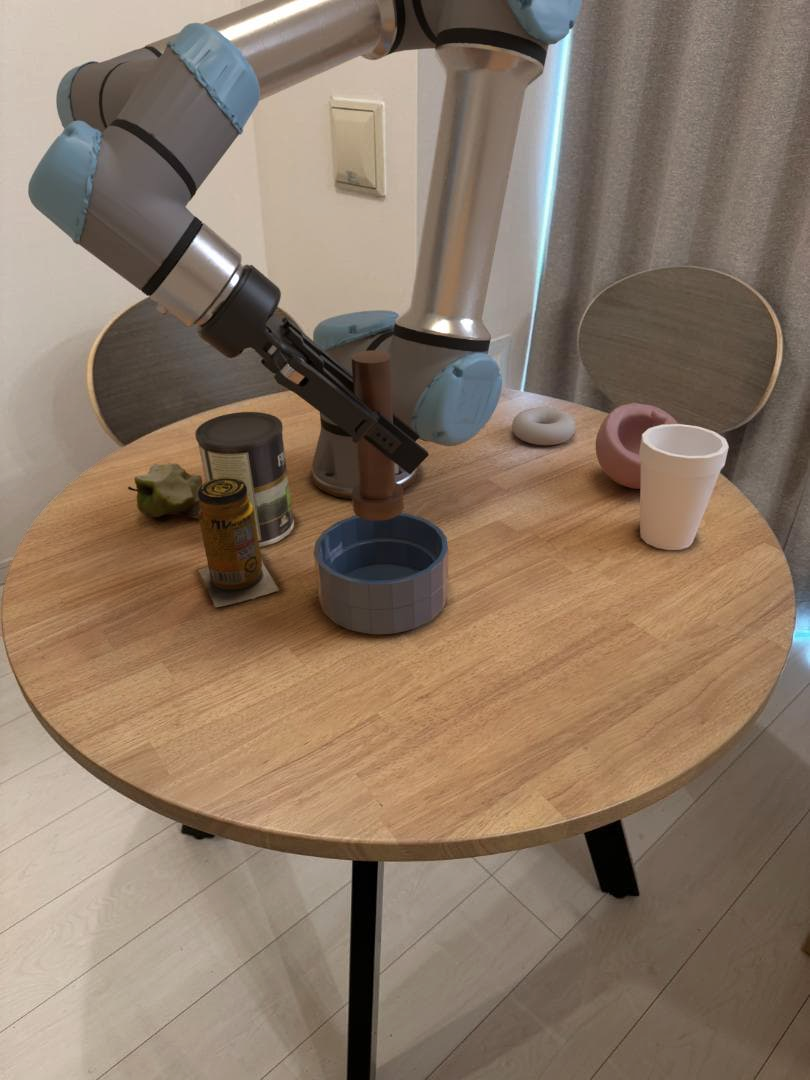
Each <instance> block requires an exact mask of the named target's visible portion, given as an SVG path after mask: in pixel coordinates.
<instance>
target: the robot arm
mask: <svg viewBox="0 0 810 1080" xmlns="http://www.w3.org/2000/svg"><path fill="white" fill-rule="evenodd" d="M582 2H583V0H261V1H259V2H256V3H252V4H250V5H248V6H245V7H243V8H240V9H237V10H235V11H233V12H230V13H227V14H224V15H222V16H218V17H217V18H213V19H211V20H209V21H206V22H204V23H201V22H191V23H188V24H186V25H184V26H183V28H182V29H181V30H180V31H179V32H177V33H173V34H172V35H170V36H166V37H164V38H161V39H159V40H157V41H154V42H151V43H149V44H146V45H145V46H143V47H140V48H137V49H133V50H131V51H128V52H126V53H123V54H120V55H117V56H115V57H112V58H110V59H106V60H103V61H100V62H99V61H95V60H94V61H93V60H92V61H88V62H84V63H82V64H81V65H78V66H75V67H73V68H71V69H69V70H68V71H67V72H66V73H65V74H64V75H63V77H62V78H61V79H60V82H59V83H58V86H57V90H56V97H55V98H56V99H55V103H56V104H55V105H56V111H57V115H58V118H59V120H60V124H61V126H62V128H63V130H62V132H61V133H60V134H59V135H58V136H57V137H56V138H55V140H53V142H52V143H51V145H50V146H49V147H48V149H47V151H46V152H45V153H44V154H43V156H42V157H41V158H40V161H39V162H38V164H37V166H36V167H35V169H34V171H33V173H32V175H31V177H30V178H29V182H28V187H27V188H28V189H27V194H28V198H29V200H30V203H31V204H32V206H33V207H34V208H36V210H37V211H38V212H40V213H41V214H42V215H43V216H45V217H46V218H47V219H48V220H49V221H50V222H52V223H53V224H54V225H55V226H56V227H57V228H59V229H60V230H61V231H62V232H64V233H65V234H66V235H67V236H68V237H69V238H70V239H71V240H72V242H73V243H75V244H76V245H77V246H80V247H81V248H83V249H84V250H85V251H86V252H88V253H90V254H91V255H92V256H94V257H95V258H96V259H98V260H99V261H100V262H102V263H103V264H104V265H106V266H107V267H108V268H110V269H111V270H112V271H114V272H115V273H116V274H118V276H120V277H122V278H123V279H124V280H126V281H127V282H128V283H129V284H131V285H132V286H134V287H135V288H136V289H138V290H139V291H141V292H142V293H143V294H144V295H145V296H147V297H149V298H150V299H151V300H152V301H154V302H155V303H157V305H156V311H157V312H158V314H160V315H162V316H163V315H167V314H169V313H170V314H171V315H172V316H173V317H174V318H176V319H177V320H178V321H179V322H181V323H182V324H183V325H184V326H186V327H193V326H195V325H197V328H196V332H197V333H198V337H200V338H201V339H202V340H203V341H204V342H206V343H207V344H209V346H211V347H212V348H214V349H215V350H216V351H218V352H219V353H220V354H222V355H223V356H224V357H226V358H227V359H228V358H229V359H233V358H236V357H238V356H240V355H241V354H242V353H243V352H244V350H246V349H249V348H251V349H252V350H254V351H255V353H256V354H258V356H260V357H261V358H262V359H261V360H260V363H261V364H262V365H263V366H264V367H265V368H266V369H267V370H268V371H270V372H271V374H273V378H274V380H275V381H276V384H278V385H280V386H282V387H284V388H286V389H287V390H289V391H290V392H292V393H294V394H295V395H297V396H298V397H299V398H301V399H302V400H304V401H305V402H306V403H307V404H308V405H310V406H311V407H313V409H315V410H317V411H318V412H319V421H320V431H319V435H318V439H317V444H316V447H315V450H314V451H315V452H314V455H313V459H312V465H311V471H312V480H313V483H314V485H315V486H316V487H317V488H318V489H319V490H321V491H322V492H323V493H326V494H327V495H331V496H333V497H337V498H342V499H347V500H353V499H352V491H353V489H354V487H355V486H357V485H358V484H359V470H358V454H357V442H358V441H360V440H361V439H362V438H364V439H366V440H367V441H368V442H369V443H371V444H372V445H373V446H374V447H376V448H377V449H378V450H379V451H381V452H382V453H383V454H385V455H386V456H387V457H388V458H390V459H391V460H392V461H393V462H394V469H395V482H396V483H398V484H399V485H400V486H401V487H402V489H403V491H404V490H407V488H409V487H411V485H412V484H414V483H415V481H416V480H417V478H418V473H419V471H418V467H419V466H420V465H421V464H422V463H423V462H424V461H425V460H426V459H427V458H428V457H430V454H429V451H427V450H426V449H425V448H424V447H423V446H421V445H420V444H419V443H418V442H417V441H418V440H420V441H423V442H426V443H433V444H436V445H440V446H442V447H443V446H444V447H455V446H460V445H462V444H465V443H466V442H468V441H470V440H472V439H473V438H474V437H475V436H477V435H478V434H479V432H480V431H481V430H482V429H483V428H485V426H486V425H487V424H488V423H489V421H490V419H491V418H492V416H493V415H494V413H495V410H496V408H497V406H498V404H499V401H500V398H501V394H502V387H503V376H502V374H501V373H500V371H501V368H500V366H499V364H498V363H497V361H496V360H495V359H494V358H493V357H492V356H491V355H489V350H490V345H491V340H492V338H491V337H492V335H491V333H490V332H489V330H488V328H487V327H486V325H485V324H484V321H483V313H484V308H485V303H486V299H487V298H486V297H487V293H488V287H489V282H490V276H491V271H492V266H493V262H494V257H495V250H496V245H497V239H498V234H499V229H500V224H501V219H502V213H503V209H504V204H505V198H506V193H507V188H508V181H509V176H510V171H511V167H512V162H513V161H512V160H513V155H514V150H515V145H516V141H517V140H516V139H517V135H518V130H519V124H520V119H521V114H522V109H523V104H524V97H525V93H526V89H527V88H528V87H529V86H530V85H531V84H532V83H533V82H535V81H536V80H538V78H539V77H541V76H542V75H543V74H544V70H545V65H546V60H547V56H548V50H549V46H551V45H556V44H557V43H558V42H560V41H562V40H563V39H565V38H566V36H568V35H569V33H570V30H572V29H573V28H574V27H575V25H576V22H577V20H578V17H579V15H580V11H581V7H582V4H583V3H582ZM426 49H427V50H428V49H429V50H430V49H434V57H435V58H436V60H437V62H438V63H439V65H440V66H441V68H442V70H443V72H444V75H445V79H444V85H443V86H444V87H443V93H442V98H441V104H440V111H439V116H438V117H439V118H438V125H437V130H436V138H435V143H434V149H433V157H432V162H431V168H430V175H429V182H428V189H427V195H426V202H425V208H424V214H423V221H422V227H421V233H420V241H419V248H418V254H417V259H416V266H415V272H414V278H413V285H412V292H411V299H410V305H409V307H408V308H407V310H405V311H404V312H402V313H401V314H399V313H398V312H396V311H392V310H386V309H385V310H382V309H381V310H378V309H377V310H376V309H375V310H362V311H356V312H355V311H354V312H349V313H343V314H338V315H334V316H332V317H328V318H326V319H324V320H321V321H320V322H319V323H317V325H316V326H315V327H314V329H313V332H312V338H310V336H308V335H307V334H306V333H304V331H302V329H300V327H299V326H298V325H296V323H294V322H293V320H292V319H291V318H290V317H288V316H283V317H282V319H280V318H279V317H277V316H276V315H275V312H276V310H277V308H278V306H279V304H280V301H281V298H282V291H281V289H280V287H279V286H278V285H276V284H275V283H274V282H273V281H272V280H270V279H269V278H268V277H267V276H266V275H265V274H264V273H262V271H260V270H259V269H257V268H256V267H255V266H254V265H253V264H244V265H243V264H242V260H243V258H242V254H241V253H240V251H238V250H237V249H235V248H234V247H233V246H232V245H231V244H230V243H229V242H227V241H226V240H225V239H223V238H222V237H221V236H220V235H219V234H218V233H216V232H215V230H213V229H212V228H211V227H209V226H208V225H207V224H206V223H205V222H203V221H202V220H201V219H199V218H198V216H196V215H194V214H193V213H192V212H191V211H190V210H189V208H187V205H188V204H189V202H191V200H192V199H193V198H194V197H195V195H196V194H197V192H198V190H199V188H201V186H202V184H203V183H204V182H205V180H207V178H208V177H209V175H210V174H211V173H212V171H213V170H214V168H215V167H216V166H217V165H218V163H219V162H220V161H221V159H222V158H223V157H224V155H225V154H226V153H227V151H228V150H229V149H230V147H231V146H232V145H233V143H234V142H235V140H236V139H237V138H238V137H239V136H240V135H242V134H243V132H244V128H245V126H246V124H247V122H248V121H249V119H250V117H251V116H252V115H253V113H254V111H255V109H256V108H257V106H258V105H259V102H260V101H262V100H266V99H267V98H269V97H271V96H273V95H275V94H278V93H280V92H282V91H285V90H287V89H289V88H291V87H294V86H296V85H298V84H300V83H303V82H304V81H307V80H309V79H311V78H313V77H316V76H318V75H320V74H322V73H324V72H326V71H329V70H332V69H334V68H335V67H339V66H341V65H343V64H345V63H347V62H349V61H351V60H354V59H356V58H358V57H361V58H363V59H366V60H370V61H377V60H380V59H382V58H385V57H386V56H389V55H391V54H394V53H399V52H404V51H415V50H426ZM371 350H375V351H383V352H387V353H389V354H390V356H391V380H392V410H393V423H392V422H391V421H390V420H388V419H387V418H386V417H385V416H384V415H382V414H381V413H380V412H378V413H376V412H375V411H373V410H372V409H371V408H369V407H368V406H367V405H366V404H365V403H364V402H363V401H361V400H360V399H359V398H358V397H357V396H356V395H355V394H354V390H353V374H352V358H351V357H352V356H353V355H354V354H356V353H358V352H362V351H371Z"/></svg>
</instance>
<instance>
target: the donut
mask: <svg viewBox="0 0 810 1080" xmlns="http://www.w3.org/2000/svg"><path fill="white" fill-rule="evenodd" d="M511 429H512V432H513V434H514V435H515V437H516V438H518V439H519V440H520V441H522V442H524V443H528V444H530V445H535V446H555V445H559V444H563V443H565V442H567V441H569V440H570V439H572V437H573V436H574V434H575V433H576V429H577V427H576V421H575V418H573V417H572V415H570V414H569V413H567V412H566V411H564V410H561V409H557V408H553V407H543V406H542V407H541V406H539V407H532V408H528V409H524V410H522V411H520V412H519V413H517V414H516V416H514V418H513V420H512V425H511Z"/></svg>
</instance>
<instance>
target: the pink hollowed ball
mask: <svg viewBox="0 0 810 1080" xmlns="http://www.w3.org/2000/svg"><path fill="white" fill-rule="evenodd" d="M666 424H679V423H678V421H677V420H675V418H674V417H673V416H672V415H670V414H669V413H668V412H666V411H665V410H663V409H661V408H659V407H656V406H655V405H651V404H644V403H639V402H631V403H626V404H620V405H619V406H617V407H616V408H614V409H612V410H611V411H610V412H609V413H608V415H606V417H605V418H604V419H603V421H602V422H601V424H600V426H599V429H598V431H597V433H596V438H595V454H596V458H597V461H598V464H599V465H600V467H601V469H602V471H603V472H604V473H605V475H606V476H607V477H608V478H610V479H611V480H612V481H613V482H614V483H617V484H619V485H620V486H623V487H625V488H630V489H635V490H640V486H641V460H640V454H639V451H640V444H641V438H642V434H643V433H644V432H645V431H646V430H648V429H649V428H652V427H656V426H659V425H666Z"/></svg>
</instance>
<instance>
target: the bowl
mask: <svg viewBox="0 0 810 1080" xmlns="http://www.w3.org/2000/svg"><path fill="white" fill-rule="evenodd" d="M314 543H315V544H314V549H313V559H314V568H315V576H316V586H317V587H316V588H317V595H318V602H319V605H320V607H321V609H322V613H323V614H324V615H326V616H327V617H328V618H329V619H330V620H331V621H332V622H333V623H334V624H336V625H338V626H339V627H343V628H344V629H347V630H349V631H351V632H359V633H362V634H368V635H394V634H399V633H403V632H407V631H410V630H414V629H416V628H418V627H421V626H423V625H425V624H426V623H429V622H431V621H433V619H434V618H435V617H436V616H437V615H438V614H440V613H441V612H442V611H443V610H444V607H445V605H446V603H447V601H448V598H449V543H448V537H447V536H446V535H445V533H444V532H443V530H442V529H441V528H440V527H439V526H438V525H436V524H434V523H433V522H431V521H430V520H428V519H426V518H423V517H420V516H417V515H414V514H411V513H405V512H401V513H400V514H399V515H398V516H396V517H394V518H391V519H388V520H382V521H371V520H366V519H362V518H360V517H358V516H357V515H356V514H355V515H352V516H349V517H346V518H343V519H341V520H338V521H336V522H335V523H333V524H332V525H330V526H329V527H327V528H326V529H324V530H323V531H322V533H321V534H320V535H319V536H318V538H317V539H316V540H315V542H314Z"/></svg>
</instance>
